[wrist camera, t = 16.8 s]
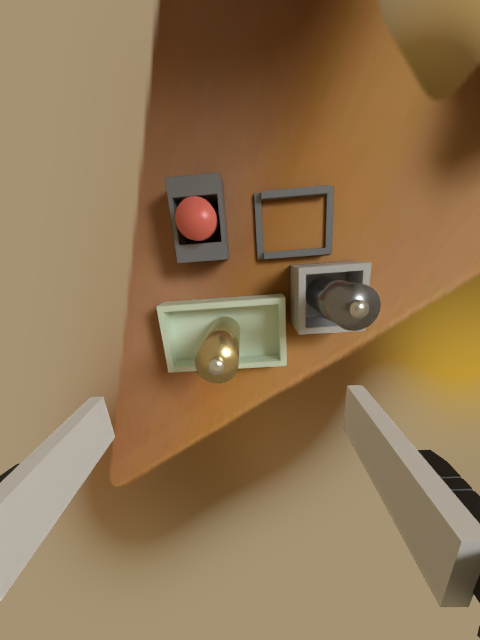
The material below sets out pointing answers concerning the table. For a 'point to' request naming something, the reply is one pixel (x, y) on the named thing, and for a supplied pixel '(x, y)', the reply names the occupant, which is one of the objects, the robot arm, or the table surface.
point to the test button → (196, 218)
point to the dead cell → (344, 302)
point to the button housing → (211, 191)
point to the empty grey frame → (293, 194)
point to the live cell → (219, 351)
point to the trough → (249, 311)
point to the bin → (302, 275)
